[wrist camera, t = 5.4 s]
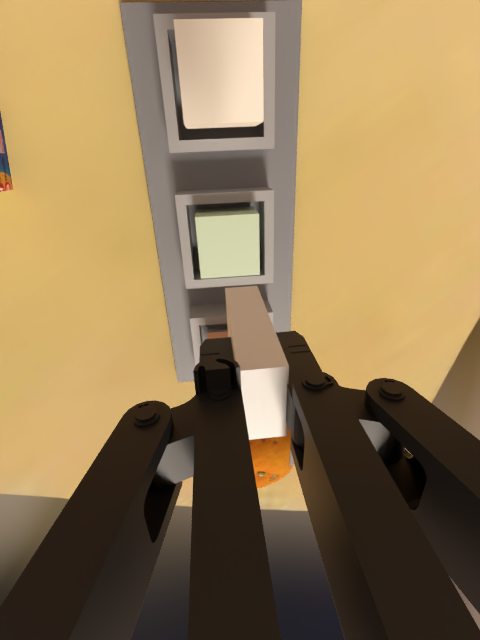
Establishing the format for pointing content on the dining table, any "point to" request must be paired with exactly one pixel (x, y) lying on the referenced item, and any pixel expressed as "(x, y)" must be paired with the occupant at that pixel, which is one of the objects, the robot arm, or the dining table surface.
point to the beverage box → (4, 163)
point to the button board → (216, 165)
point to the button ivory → (220, 71)
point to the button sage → (228, 242)
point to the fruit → (270, 459)
